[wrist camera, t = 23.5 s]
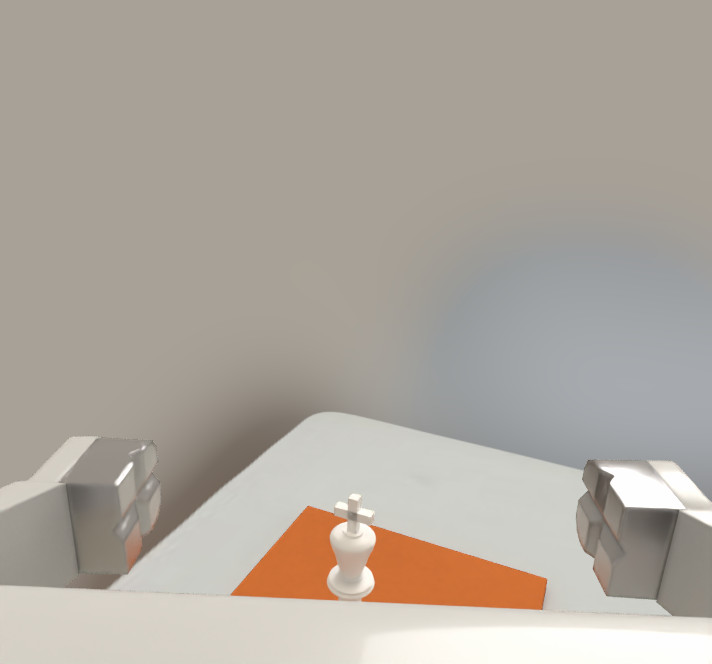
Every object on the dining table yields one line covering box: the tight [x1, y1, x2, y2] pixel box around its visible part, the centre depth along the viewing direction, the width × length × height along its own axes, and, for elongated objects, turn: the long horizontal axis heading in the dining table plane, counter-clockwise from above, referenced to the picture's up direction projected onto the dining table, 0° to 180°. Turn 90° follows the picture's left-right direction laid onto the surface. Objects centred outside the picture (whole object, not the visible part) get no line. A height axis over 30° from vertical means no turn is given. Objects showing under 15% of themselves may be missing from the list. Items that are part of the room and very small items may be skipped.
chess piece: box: [327, 493, 376, 602], centre depth 27 cm, size 5×5×10 cm
